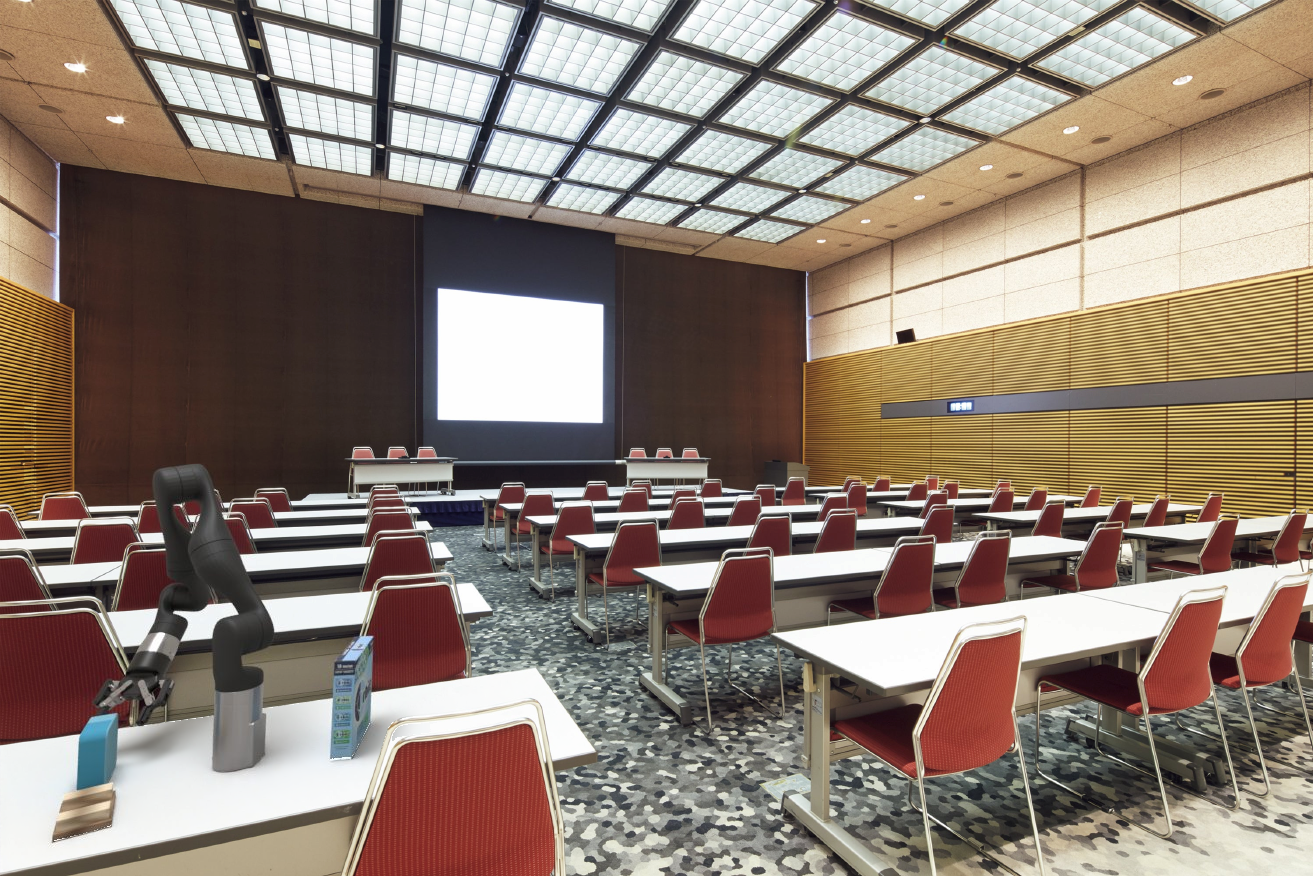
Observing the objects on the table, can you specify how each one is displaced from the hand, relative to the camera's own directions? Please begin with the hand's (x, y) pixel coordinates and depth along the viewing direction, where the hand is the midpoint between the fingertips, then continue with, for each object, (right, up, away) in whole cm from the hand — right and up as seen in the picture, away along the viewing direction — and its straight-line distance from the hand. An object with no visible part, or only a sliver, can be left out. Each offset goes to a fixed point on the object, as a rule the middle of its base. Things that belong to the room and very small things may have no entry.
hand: (118, 725), depth 140 cm
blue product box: (+45, -10, +13) cm, 48 cm away
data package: (+1, -9, -6) cm, 11 cm away
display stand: (+11, -9, -20) cm, 24 cm away
